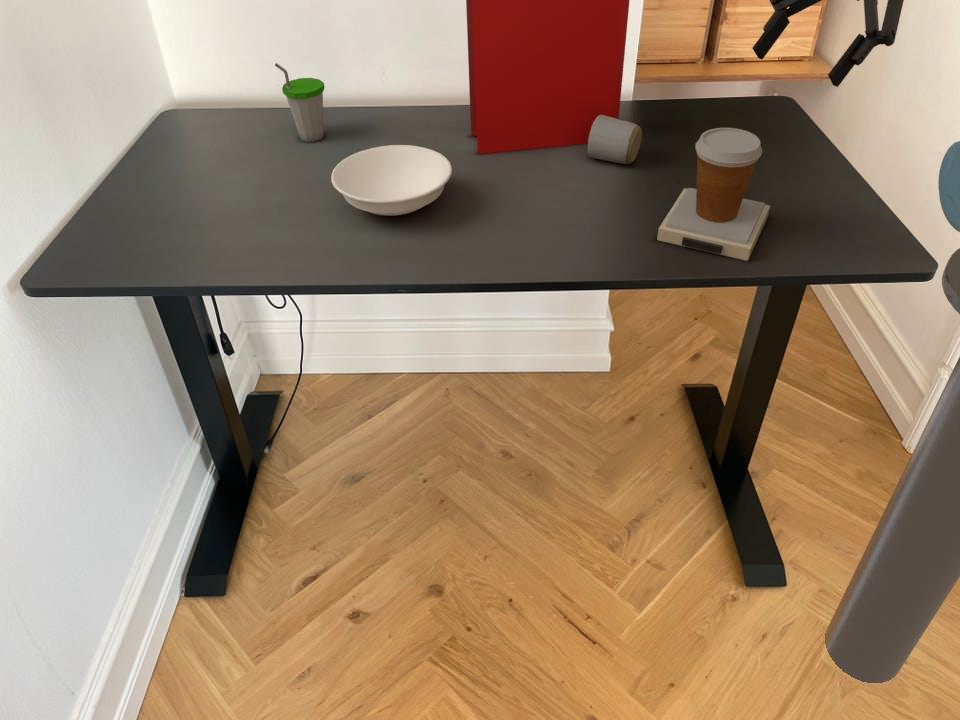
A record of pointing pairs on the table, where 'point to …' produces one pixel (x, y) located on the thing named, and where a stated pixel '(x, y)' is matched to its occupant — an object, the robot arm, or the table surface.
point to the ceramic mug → (614, 140)
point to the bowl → (392, 178)
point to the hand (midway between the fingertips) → (793, 67)
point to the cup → (305, 105)
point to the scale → (714, 227)
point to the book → (543, 70)
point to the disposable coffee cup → (724, 171)
